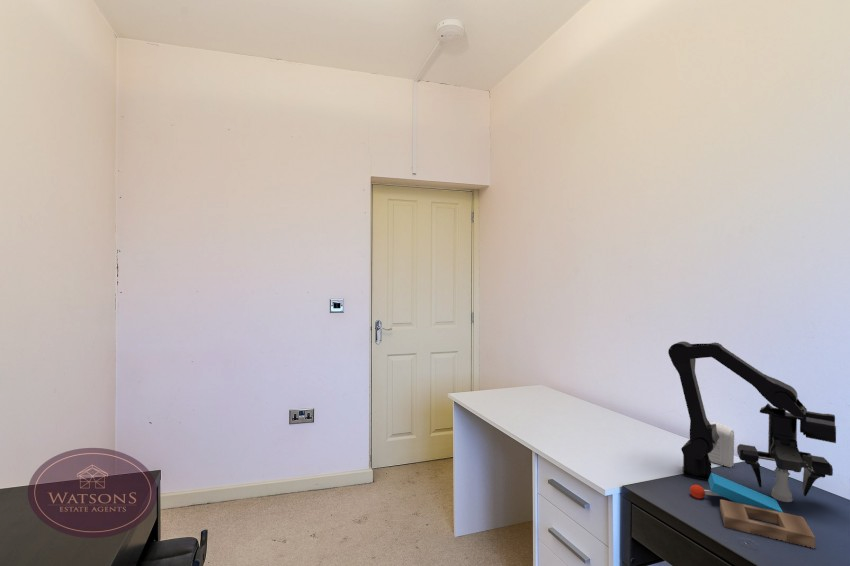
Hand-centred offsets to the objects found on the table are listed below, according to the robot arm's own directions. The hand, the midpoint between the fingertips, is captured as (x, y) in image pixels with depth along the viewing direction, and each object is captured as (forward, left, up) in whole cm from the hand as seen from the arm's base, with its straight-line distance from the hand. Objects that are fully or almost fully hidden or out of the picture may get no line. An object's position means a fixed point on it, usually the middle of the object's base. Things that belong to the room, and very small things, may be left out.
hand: (781, 490), depth 112 cm
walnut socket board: (-7, -19, -2) cm, 20 cm away
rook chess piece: (0, 0, -2) cm, 2 cm away
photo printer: (-13, +19, -2) cm, 23 cm away
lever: (-12, -10, -2) cm, 16 cm away
